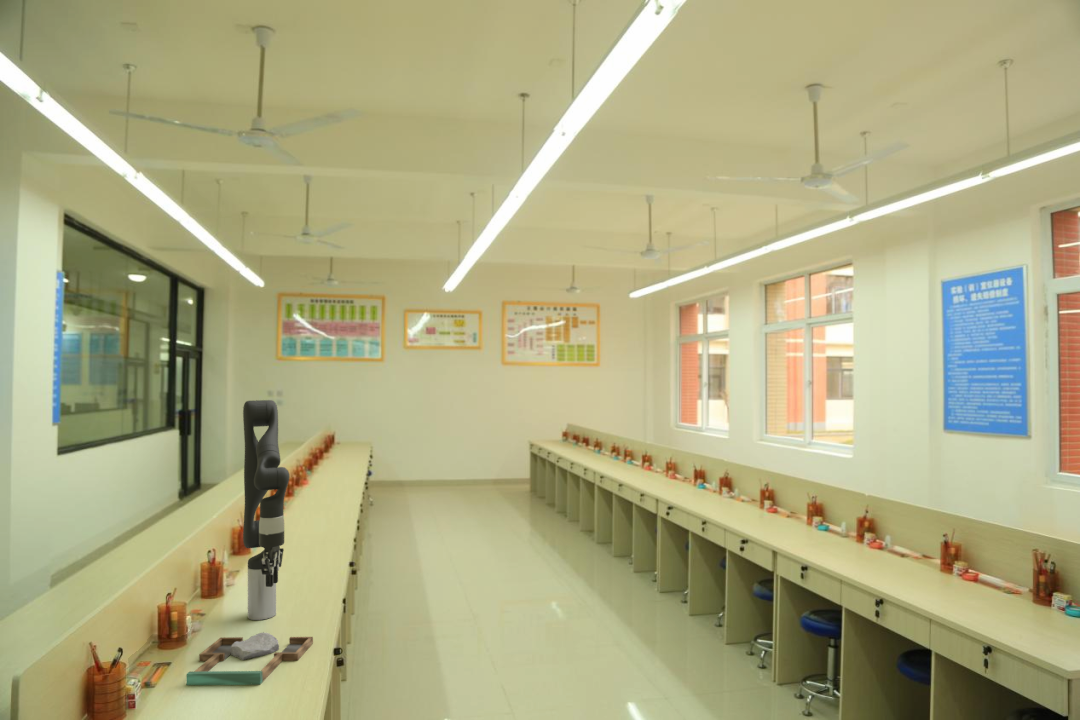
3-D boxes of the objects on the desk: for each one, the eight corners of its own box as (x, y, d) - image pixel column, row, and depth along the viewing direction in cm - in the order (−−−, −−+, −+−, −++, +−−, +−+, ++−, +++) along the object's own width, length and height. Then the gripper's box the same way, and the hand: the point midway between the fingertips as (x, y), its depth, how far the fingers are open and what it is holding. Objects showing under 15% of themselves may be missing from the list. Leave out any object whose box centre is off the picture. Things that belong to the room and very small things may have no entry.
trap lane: (220, 643, 211) (220, 634, 211) (312, 643, 211) (312, 633, 211) (169, 685, 183) (169, 674, 183) (276, 684, 183) (276, 673, 183)
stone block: (282, 655, 207) (265, 641, 213) (283, 641, 206) (266, 627, 212) (244, 670, 197) (228, 655, 204) (245, 655, 197) (229, 640, 203)
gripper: (269, 525, 223) (269, 578, 223) (250, 535, 209) (250, 591, 209) (291, 525, 223) (291, 578, 223) (274, 535, 209) (274, 591, 209)
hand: (271, 584), depth 216 cm, fingers open, 3 cm apart
